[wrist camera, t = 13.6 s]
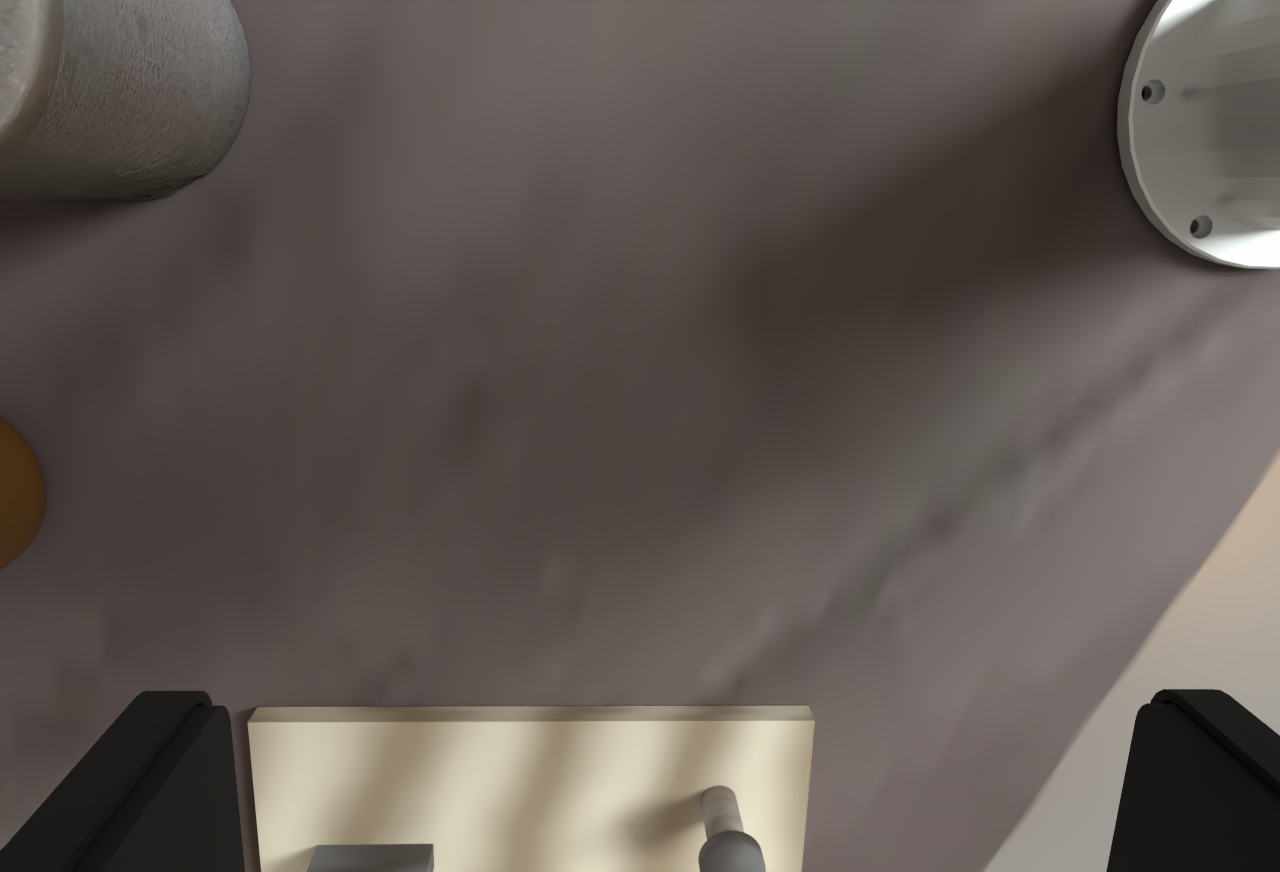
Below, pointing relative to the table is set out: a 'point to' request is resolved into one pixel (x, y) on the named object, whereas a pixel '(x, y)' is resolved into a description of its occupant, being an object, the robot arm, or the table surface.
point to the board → (531, 788)
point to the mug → (18, 494)
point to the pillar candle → (117, 95)
